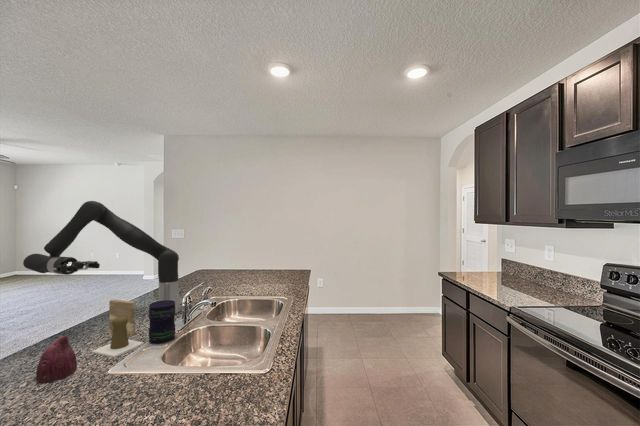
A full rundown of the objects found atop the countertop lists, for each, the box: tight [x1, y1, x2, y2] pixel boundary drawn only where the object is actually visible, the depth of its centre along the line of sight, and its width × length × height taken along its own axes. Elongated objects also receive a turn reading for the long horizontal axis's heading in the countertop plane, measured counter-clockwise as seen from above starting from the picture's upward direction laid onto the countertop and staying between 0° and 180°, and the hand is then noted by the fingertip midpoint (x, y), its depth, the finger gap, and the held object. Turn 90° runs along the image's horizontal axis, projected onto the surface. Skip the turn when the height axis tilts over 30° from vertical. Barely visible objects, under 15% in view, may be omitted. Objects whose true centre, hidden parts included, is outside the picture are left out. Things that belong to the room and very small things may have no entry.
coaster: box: [91, 339, 145, 358], centre depth 114 cm, size 12×12×1 cm
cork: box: [110, 317, 129, 349], centre depth 115 cm, size 6×6×11 cm
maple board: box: [106, 299, 138, 338], centre depth 129 cm, size 4×13×14 cm, turn 71°
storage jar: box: [148, 300, 176, 345], centre depth 123 cm, size 10×10×15 cm
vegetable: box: [35, 332, 78, 384], centre depth 96 cm, size 10×10×15 cm
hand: (88, 267), depth 123 cm, fingers open, 8 cm apart
